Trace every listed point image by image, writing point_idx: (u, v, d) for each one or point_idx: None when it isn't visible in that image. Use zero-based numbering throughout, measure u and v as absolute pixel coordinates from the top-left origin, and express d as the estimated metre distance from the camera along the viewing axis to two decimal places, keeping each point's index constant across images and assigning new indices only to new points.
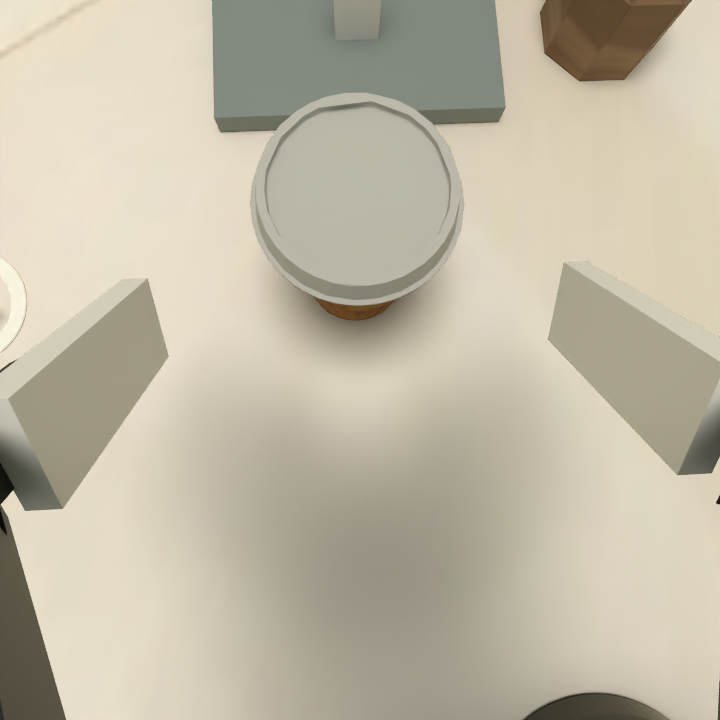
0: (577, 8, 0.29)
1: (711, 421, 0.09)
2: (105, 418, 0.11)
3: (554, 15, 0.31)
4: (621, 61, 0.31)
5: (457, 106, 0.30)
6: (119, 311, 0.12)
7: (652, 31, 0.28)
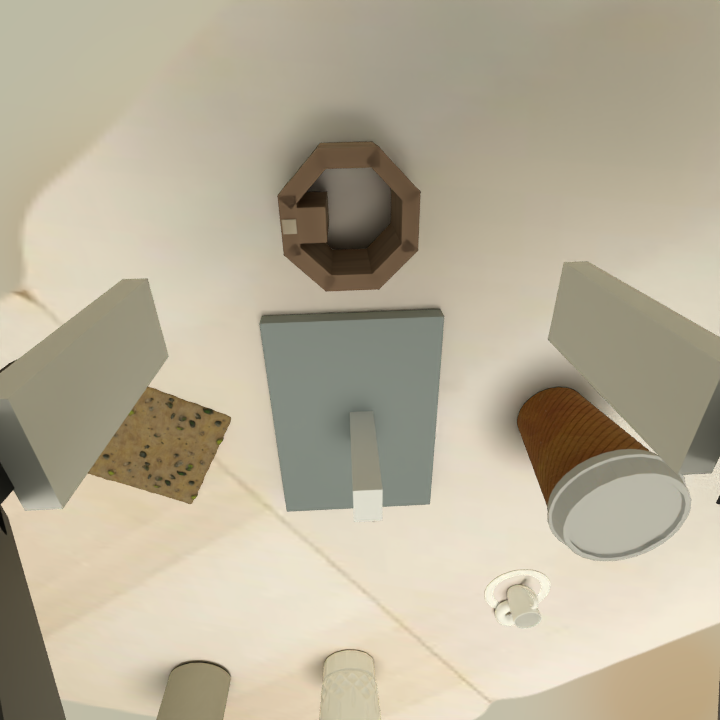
0: None
1: (711, 421, 0.09)
2: (105, 418, 0.11)
3: None
4: None
5: (438, 355, 0.35)
6: (119, 311, 0.12)
7: None
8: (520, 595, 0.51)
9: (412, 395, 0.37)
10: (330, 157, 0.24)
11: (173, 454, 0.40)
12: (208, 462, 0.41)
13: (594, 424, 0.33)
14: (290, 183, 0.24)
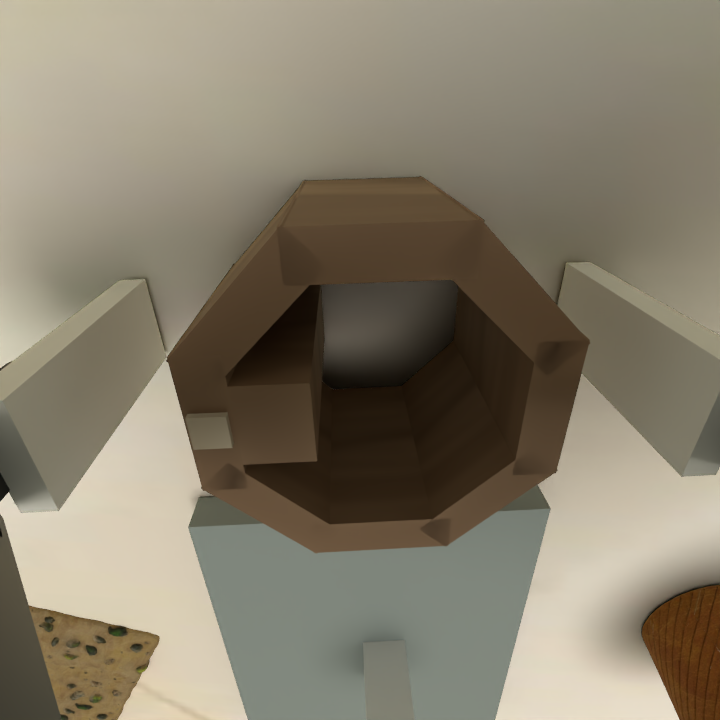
0: None
1: (716, 422, 0.09)
2: (102, 419, 0.11)
3: None
4: None
5: (531, 564, 0.19)
6: (116, 312, 0.12)
7: None
8: None
9: (476, 618, 0.20)
10: (324, 253, 0.07)
11: (65, 684, 0.24)
12: (126, 692, 0.25)
13: None
14: (202, 326, 0.08)
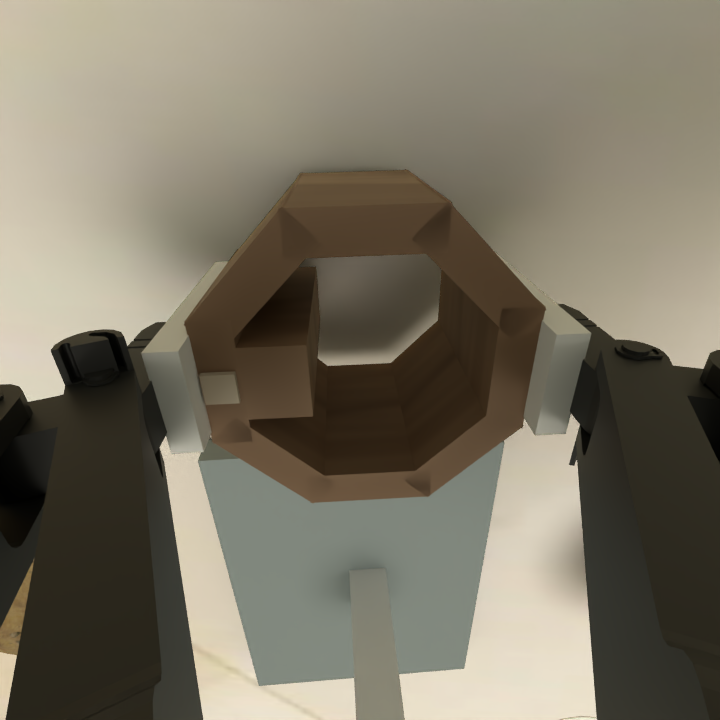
0: None
1: (555, 385, 0.10)
2: None
3: None
4: None
5: (491, 494, 0.22)
6: None
7: None
8: None
9: (446, 546, 0.24)
10: (318, 230, 0.09)
11: None
12: None
13: None
14: (214, 294, 0.09)
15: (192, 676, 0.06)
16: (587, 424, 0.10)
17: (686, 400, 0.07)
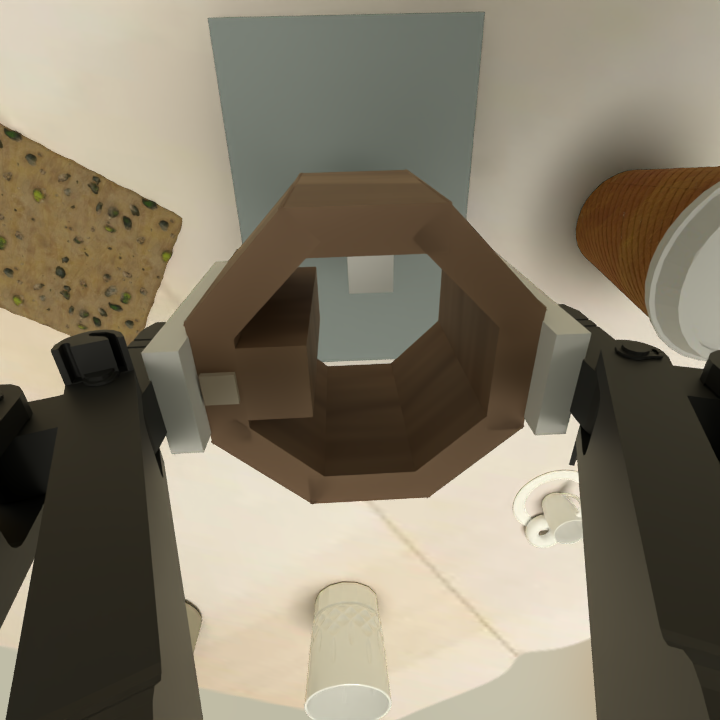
0: None
1: (556, 385, 0.10)
2: None
3: None
4: None
5: (474, 88, 0.24)
6: None
7: None
8: (561, 502, 0.40)
9: (434, 164, 0.26)
10: (318, 230, 0.09)
11: (102, 274, 0.29)
12: (151, 291, 0.30)
13: (712, 167, 0.22)
14: (214, 294, 0.09)
15: (192, 676, 0.06)
16: (587, 424, 0.10)
17: (686, 400, 0.07)
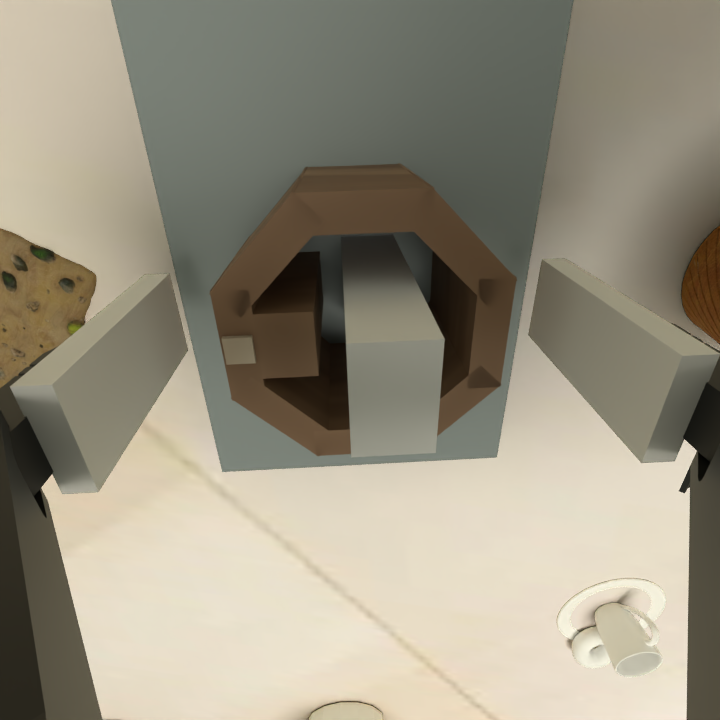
0: None
1: (672, 410, 0.09)
2: (134, 407, 0.11)
3: None
4: None
5: (556, 70, 0.14)
6: (145, 304, 0.12)
7: None
8: (623, 621, 0.31)
9: (483, 192, 0.16)
10: (323, 212, 0.10)
11: None
12: None
13: None
14: (236, 267, 0.11)
15: None
16: (707, 449, 0.09)
17: None
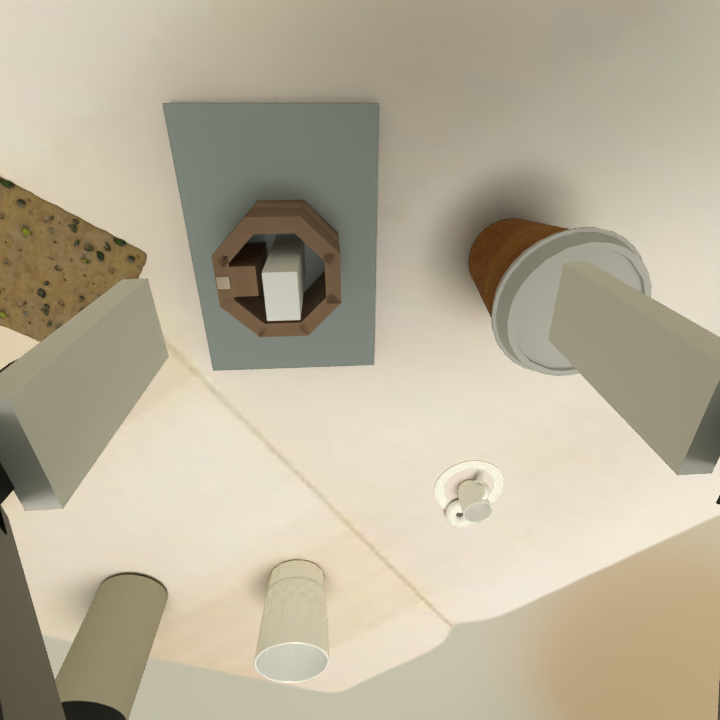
0: None
1: (711, 421, 0.09)
2: (105, 418, 0.11)
3: None
4: None
5: (375, 158, 0.31)
6: (119, 311, 0.12)
7: None
8: (471, 488, 0.47)
9: (347, 214, 0.32)
10: (257, 224, 0.26)
11: (77, 296, 0.35)
12: None
13: (546, 226, 0.29)
14: (222, 246, 0.27)
15: None
16: None
17: None
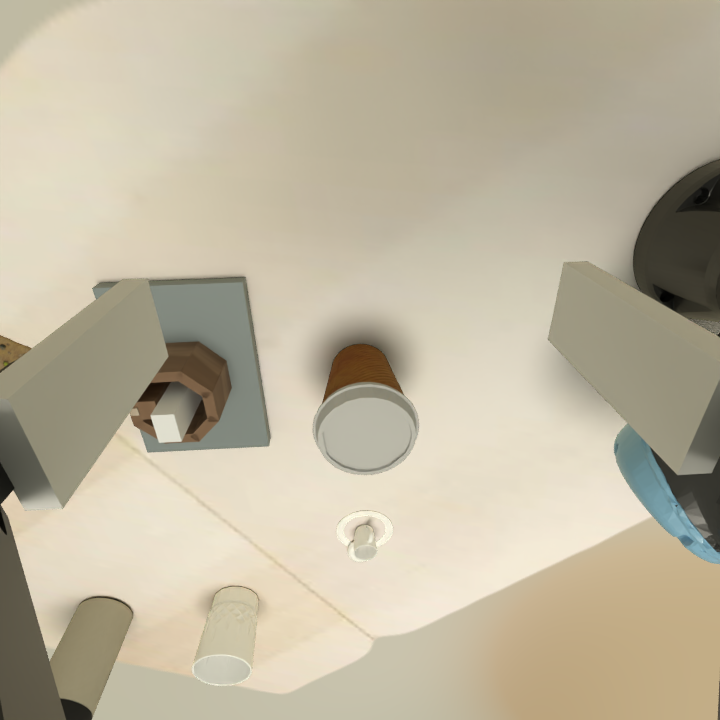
0: None
1: (711, 421, 0.09)
2: (105, 418, 0.11)
3: None
4: (224, 379, 0.45)
5: (245, 314, 0.43)
6: (119, 311, 0.12)
7: (218, 387, 0.42)
8: (362, 532, 0.59)
9: (231, 349, 0.45)
10: None
11: None
12: None
13: (360, 367, 0.41)
14: None
15: None
16: None
17: None
